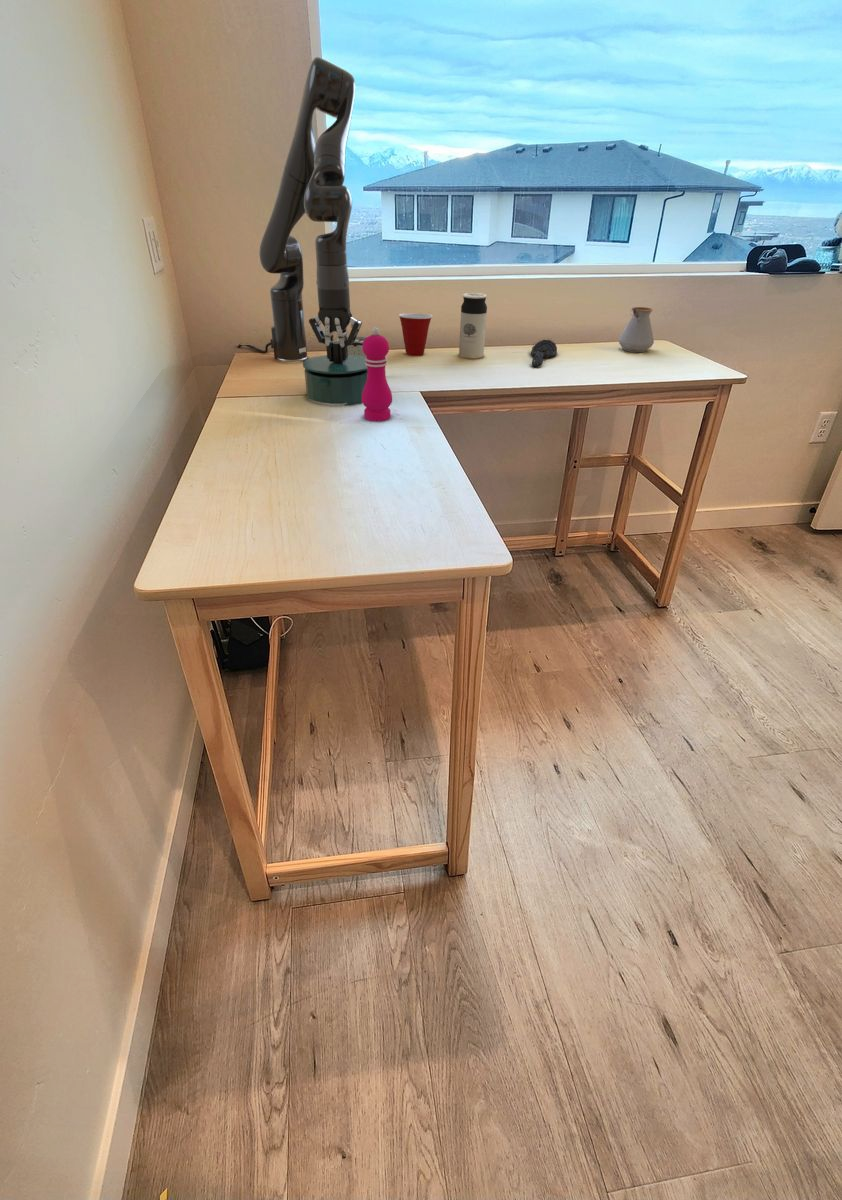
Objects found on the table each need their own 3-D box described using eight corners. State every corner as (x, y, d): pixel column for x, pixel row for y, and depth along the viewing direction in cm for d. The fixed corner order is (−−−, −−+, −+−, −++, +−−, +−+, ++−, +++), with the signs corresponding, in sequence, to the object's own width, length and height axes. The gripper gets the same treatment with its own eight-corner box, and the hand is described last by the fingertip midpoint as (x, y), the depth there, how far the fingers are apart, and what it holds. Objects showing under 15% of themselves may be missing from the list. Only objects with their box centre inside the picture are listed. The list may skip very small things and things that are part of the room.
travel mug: (467, 352, 203) (470, 291, 193) (488, 355, 200) (492, 294, 189) (454, 356, 198) (456, 294, 188) (475, 360, 194) (479, 297, 184)
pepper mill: (396, 414, 149) (396, 325, 138) (385, 423, 144) (384, 332, 132) (369, 411, 151) (366, 323, 140) (357, 419, 146) (353, 329, 134)
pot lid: (291, 373, 152) (288, 347, 148) (319, 356, 166) (317, 333, 162) (358, 379, 148) (357, 353, 145) (381, 362, 162) (381, 338, 159)
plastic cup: (434, 351, 204) (436, 311, 197) (427, 359, 195) (428, 318, 188) (403, 349, 206) (403, 309, 199) (394, 356, 197) (394, 315, 190)
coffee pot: (621, 344, 217) (630, 297, 208) (654, 348, 212) (665, 300, 204) (606, 357, 201) (615, 307, 192) (642, 361, 197) (652, 310, 188)
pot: (291, 405, 154) (289, 377, 150) (326, 382, 172) (324, 356, 168) (354, 411, 151) (352, 383, 147) (382, 387, 168) (382, 361, 164)
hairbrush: (523, 356, 188) (535, 335, 207) (521, 369, 190) (534, 347, 209) (550, 359, 186) (560, 338, 205) (548, 371, 188) (558, 349, 207)
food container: (382, 373, 180) (381, 336, 174) (379, 378, 175) (378, 341, 169) (340, 371, 181) (338, 335, 175) (336, 377, 176) (334, 339, 170)
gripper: (366, 285, 148) (368, 360, 158) (312, 282, 151) (318, 356, 161) (355, 289, 142) (358, 367, 152) (299, 286, 145) (306, 362, 155)
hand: (337, 361), depth 156 cm, fingers closed on pot lid, 2 cm apart
